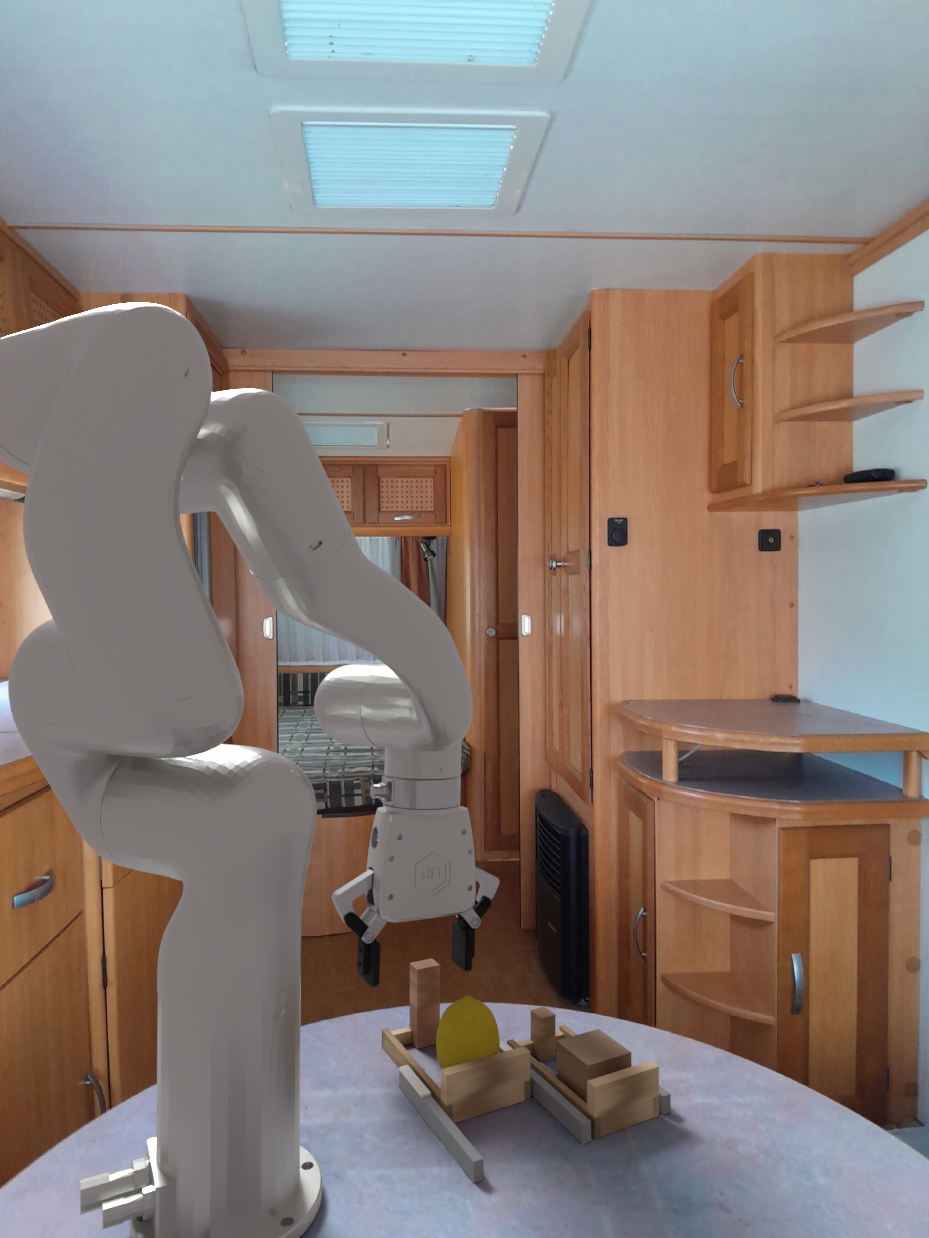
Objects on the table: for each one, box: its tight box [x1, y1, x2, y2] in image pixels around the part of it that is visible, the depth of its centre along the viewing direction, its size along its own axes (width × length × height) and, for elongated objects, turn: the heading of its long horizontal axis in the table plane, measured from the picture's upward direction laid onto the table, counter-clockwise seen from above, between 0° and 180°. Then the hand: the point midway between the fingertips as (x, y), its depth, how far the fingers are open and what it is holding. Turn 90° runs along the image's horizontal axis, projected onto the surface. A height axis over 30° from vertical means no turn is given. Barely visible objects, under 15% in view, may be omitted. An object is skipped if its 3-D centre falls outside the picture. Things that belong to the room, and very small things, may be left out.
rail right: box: [631, 1064, 672, 1116], centre depth 71 cm, size 1×11×2 cm, turn 27°
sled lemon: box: [381, 958, 531, 1124], centre depth 72 cm, size 8×14×8 cm, turn 27°
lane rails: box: [398, 1039, 592, 1184], centre depth 66 cm, size 10×14×2 cm
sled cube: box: [506, 1006, 660, 1140], centre depth 70 cm, size 6×14×4 cm, turn 28°
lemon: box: [435, 995, 501, 1070], centre depth 69 cm, size 6×6×8 cm
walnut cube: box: [556, 1028, 632, 1104], centre depth 68 cm, size 4×4×4 cm
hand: (416, 973), depth 76 cm, fingers open, 9 cm apart
